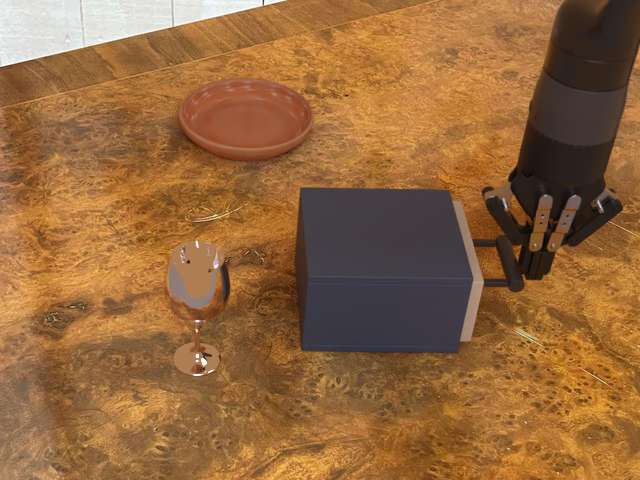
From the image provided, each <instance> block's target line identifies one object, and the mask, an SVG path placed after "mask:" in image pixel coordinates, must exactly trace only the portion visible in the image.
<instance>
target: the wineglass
mask: <svg viewBox="0 0 640 480" xmlns="http://www.w3.org/2000/svg"><path fill="white" fill-rule="evenodd" d="M165 268H166V269H165V273H164V278H163V279H164V280H163V294H164V299H165V302H166V304H167V305H166V306H168V309H169V310H170V311H171V312H172V314H174V316H176V317H177V318H179V319H181V320H183V321H185V322H188V323H191V327H192V329H193V334H194V341H191V342H187V343H184V344H182V345H181V346H179V347H178V348H176V350H175V351H174V353H173V356H172V362H173V365H174V367H175V368H176V369H177V370H178V371H179V372H181V373H183V374H185V375H187V376H191V377H201V376H208V375H209V374H212V373H214V372H215V371H216V370H218V369H219V367H220V365H221V363H222V354H221V352H220V351H219V349H218V348H216V346H214V345H213V344H211V343H208V342H204V341H201V339H200V338H201V336H200V335H201V330H202V327H203V324H204V323H206V322H209V321H212V320H214V319H216V318H217V317H219V316H220V315H221V314H222V313H223V312H224V310H225V309H226V308H227V305H228V303H229V300H230V296H231V278H230V276H231V275H230V272H229V271H230V270H229V267H228V264H227V260H226V256H225V254H224V251H223V250H222V249H221V248H220V247H219V246H218V245H216V244H214V243H212V242H209V241H205V240H189V241H186V242H182V243H180V244H178V245H176V246H175V247H174V248H173V249H172V251H171V252H170V255H169V257H168V261H167V265H166V267H165Z"/></svg>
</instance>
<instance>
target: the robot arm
mask: <svg viewBox="0 0 640 480" xmlns="http://www.w3.org/2000/svg"><path fill="white" fill-rule="evenodd" d="M549 35H550V36H549V39H548V44H547V47H546V52H545V55H544V61H543V65H542V68H541V70H540V73H539V76H538V77H537V80H536V83H535V87H534V88H533V89H534V91H533V93H532V98H531V99H530V101H529V105H528V115H527V118H526V123H525V127H524V132H523V136H522V141H521V144H520V148H519V153H518V156H517V157H518V158H517V163H516V165H515V166H514V168H513V169H512V171H510V173H509V174H508V177H507V182H505V183H503V184H502V185H499V186H498V187H496V188H494V186H491V185H487V186H484V188H483V189H482V190H481V195H482V199H483V202H484V205H485V208H486V210H487V212H488V213H489V215H490V216H491V218H492V219H493V221H494V222H495V223H496V225H497V226H498V228H500V230H501V231H502V232H503V235H506V237H507V238H508V239H509V241H510V242H511V243H512V246H513V247H514V246H515V247H518V246H520V250H519V253H518V257H517V262H518V265H519V268H520V271H521V274H522V276H523V277H524V280H525V281H543V278H544V276H548V275H549V273H550V272H551V269H552V266H553V263H554V259H555V255H556V252H557V251H559V249H560V248H561V247H563V246H566V245H567V246H568V247H571V248H574V247H577V246H579V245H580V244H581V243H583V242H584V241H586V240H587V239H588V238H589V237H590V236H592V235H594V233H596V232H598V230H600V229H601V228H602V227H604V226H605V225H606V224H608V222H610V221H611V220H613V219H614V218H615V217H616V216H618V215H620V213H622V212H623V209H624V207H623V204H622V201H621V199H620V197H619V195H618V194H617V192H616V190H615V189H614V188H612V187H609V188H608V187H606V186H607V184H606V179H605V174H606V171H607V168H608V165H609V161H610V160H611V159H610V158H611V155H612V152H613V149H614V145H615V142H616V139H617V135H618V132H619V129H620V125H621V122H622V118H623V117H624V112H625V108H626V105H627V100H628V94H629V93H628V92H629V85H630V81H631V77H632V73H633V72H634V67H635V64H636V60H637V58H638V54H639V51H640V0H563V1H562V2H561V4H560V5H559V7H558V9H557V11H556V13H555V16H554V19H553V23H552V27H551V32H550V34H549ZM513 196H514V198H515V199H516V201H517V203H518V204H519V206H520V207H521V209H522V211H523V212H524V215H525V216H524V217H525V219H524V224H520V223H519V221H518V220H517V218H516V217H515V215H514V213H512V211H511V207H512V198H513Z"/></svg>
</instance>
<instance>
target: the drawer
mask: <svg viewBox="0 0 640 480" xmlns="http://www.w3.org/2000/svg"><path fill="white" fill-rule="evenodd" d="M452 201H453V205H454V209H455V212H456V216H457V220H458V223H459V227H460V231H461V234H462V238H463V242H464V245H465V249H466V253H467V256H468V260H469V264H470V267H471V271H472V275H473V278H474V279H473V284H472V289H471V293H470V298H469V302H468V307H467V311H466V316H465V320H464V325H463V329H462V334H461V338H460V343H462V342H464V343H466V342H467V343H470V342H471V341H472V336H473V333H474V328H475V324H476V320H477V315H478V311H479V306H480V303H481V297H482V294H483V293H482V292H483V289H484V288H507V289H508V290H509V291H510V292H511V293H521V292H522V291H523V290H524V289H525V287H526V283H525V279H524V276H523V275H522V274H521V271H520V268H519V265H518V258H517V256H516V253H515V249H514V245H512V243H511V242H510V241H509V239H508V238H507V237H506V235H505V234H499V235H497V236H496V237H495V238H494V239H493V238H472V235H471V232H470V227H469V224H468V220H467V216H466V213H465V211H464V206H463V203H462V201H461V200H452ZM475 248H495V249H496V252H497V256H498V258H499V262H500V265H501V268H502V271H503V275H504V278H484V276H483V273H482V270H481V266H480V263H479V260H478V256H477V252H476V249H475Z"/></svg>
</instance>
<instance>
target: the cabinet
mask: <svg viewBox="0 0 640 480" xmlns="http://www.w3.org/2000/svg"><path fill="white" fill-rule="evenodd" d="M298 197H299V198H298V211H297V221H296V222H297V223H296V238H295V251H294V265H295V266H294V270H295V282H296V294H297V308H298V322H299V333H300V334H299V335H300V345H301V346H300V348H301V352H337V353H339V352H341V353H342V352H343V353H344V352H345V353H346V352H349V353H350V352H351V353H352V352H353V353H420V354H423V353H426V354H427V353H428V354H435V353H436V354H458V352H459V346H460V344H461V342H460V338H461V334H462V329H463V325H464V320H465V316H466V311H467V307H468V302H469V298H470V293H471V289H472V284H473V279H474V278H473V275H472V271H471V267H470V264H469V260H468V256H467V253H466V249H465V245H464V242H463V238H462V234H461V231H460V227H459V223H458V220H457V216H456V212H455V209H454V205H453V201H454V200H453V197H452V194H451V191H450V189H439V188H438V189H435V188H433V189H431V188H430V189H429V188H379V187H377V188H376V187H375V188H374V187H366V188H365V187H315V186H311V187H309V186H307V187H306V186H304V187H303V186H300V187H299V196H298Z"/></svg>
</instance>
